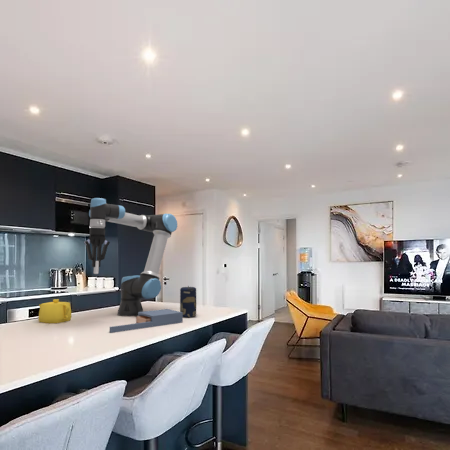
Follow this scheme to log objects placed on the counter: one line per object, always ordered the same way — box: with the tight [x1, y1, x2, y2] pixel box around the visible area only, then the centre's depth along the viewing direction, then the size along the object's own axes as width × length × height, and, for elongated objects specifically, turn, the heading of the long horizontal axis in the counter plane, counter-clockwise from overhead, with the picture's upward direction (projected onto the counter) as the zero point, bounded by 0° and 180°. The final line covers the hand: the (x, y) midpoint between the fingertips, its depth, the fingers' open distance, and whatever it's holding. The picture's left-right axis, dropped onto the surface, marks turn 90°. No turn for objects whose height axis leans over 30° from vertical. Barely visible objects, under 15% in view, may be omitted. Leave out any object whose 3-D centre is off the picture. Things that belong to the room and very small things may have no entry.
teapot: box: [38, 298, 72, 325], centre depth 190 cm, size 20×12×12 cm, turn 70°
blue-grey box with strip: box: [108, 308, 184, 334], centre depth 179 cm, size 16×40×5 cm, turn 130°
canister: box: [179, 285, 197, 318], centre depth 205 cm, size 10×10×18 cm
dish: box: [135, 315, 151, 323], centre depth 184 cm, size 11×16×4 cm
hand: (96, 273), depth 179 cm, fingers closed
